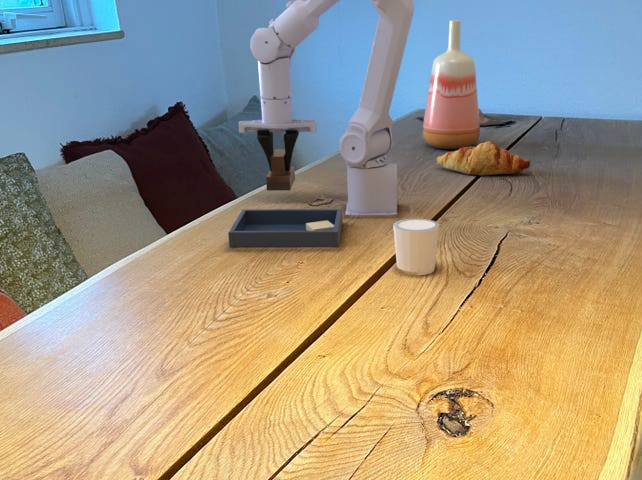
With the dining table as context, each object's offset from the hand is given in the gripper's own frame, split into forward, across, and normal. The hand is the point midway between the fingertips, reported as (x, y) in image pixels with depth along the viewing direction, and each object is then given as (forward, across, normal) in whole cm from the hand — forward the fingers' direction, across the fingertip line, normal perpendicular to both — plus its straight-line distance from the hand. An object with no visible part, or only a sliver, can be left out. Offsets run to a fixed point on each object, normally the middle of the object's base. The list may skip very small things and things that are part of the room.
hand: (280, 170), depth 154 cm
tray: (+6, -4, +25) cm, 26 cm away
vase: (+6, -37, -51) cm, 63 cm away
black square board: (+4, -35, -71) cm, 79 cm away
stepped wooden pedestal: (+3, 0, 0) cm, 3 cm away
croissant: (+6, -42, -23) cm, 48 cm away
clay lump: (+5, -9, +23) cm, 26 cm away
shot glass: (+6, -25, +41) cm, 48 cm away
